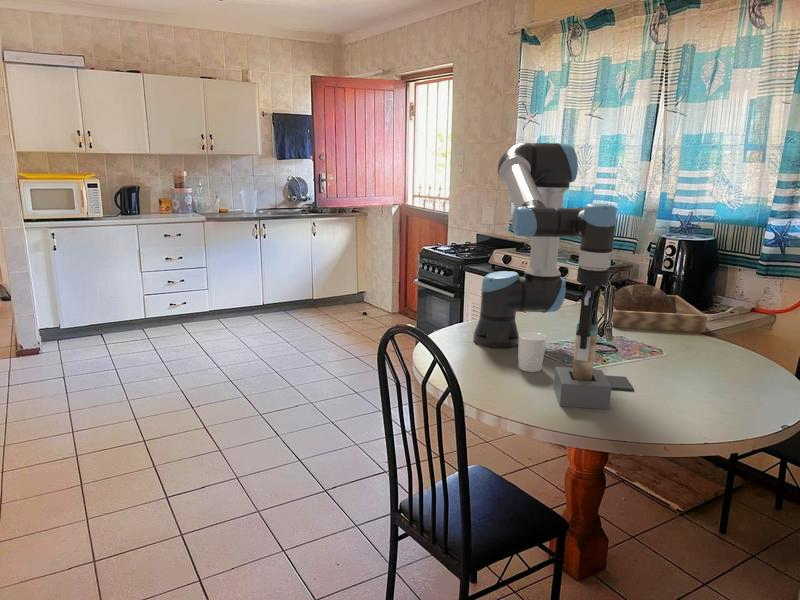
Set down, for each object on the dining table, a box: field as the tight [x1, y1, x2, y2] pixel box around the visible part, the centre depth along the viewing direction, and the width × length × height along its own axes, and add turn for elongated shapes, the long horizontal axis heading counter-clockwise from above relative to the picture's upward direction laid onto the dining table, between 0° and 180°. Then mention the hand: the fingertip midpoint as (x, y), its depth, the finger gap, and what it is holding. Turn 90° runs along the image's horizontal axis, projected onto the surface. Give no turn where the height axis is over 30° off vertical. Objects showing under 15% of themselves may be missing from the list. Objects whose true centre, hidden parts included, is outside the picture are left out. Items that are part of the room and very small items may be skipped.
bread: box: [614, 283, 677, 314], centre depth 232 cm, size 26×27×13 cm
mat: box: [604, 374, 635, 392], centre depth 164 cm, size 9×9×1 cm
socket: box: [553, 366, 612, 410], centre depth 153 cm, size 12×12×6 cm
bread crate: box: [598, 291, 708, 333], centre depth 231 cm, size 33×32×6 cm
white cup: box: [517, 331, 547, 373], centre depth 173 cm, size 8×8×10 cm
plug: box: [572, 322, 599, 381], centre depth 151 cm, size 5×5×16 cm
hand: (584, 356), depth 151 cm, fingers closed on plug, 5 cm apart
